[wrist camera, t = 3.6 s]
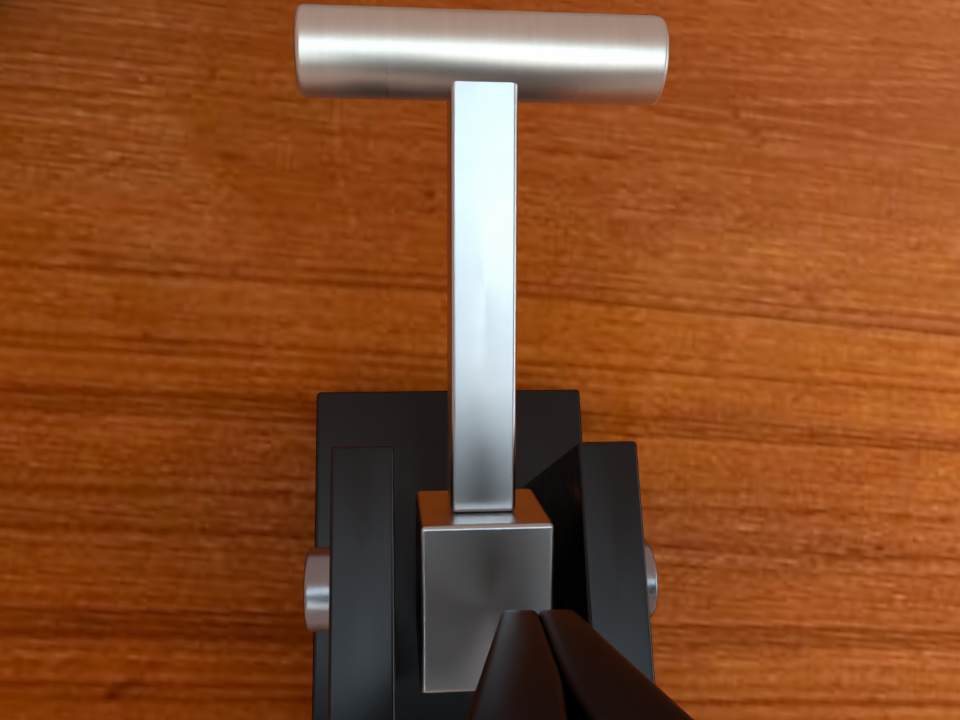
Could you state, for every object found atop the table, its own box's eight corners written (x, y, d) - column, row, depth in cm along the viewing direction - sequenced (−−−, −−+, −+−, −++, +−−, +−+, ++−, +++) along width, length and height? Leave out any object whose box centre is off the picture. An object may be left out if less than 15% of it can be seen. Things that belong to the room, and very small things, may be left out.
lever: (304, 27, 15) (288, -20, 13) (639, 37, 16) (682, -6, 13) (315, 638, 16) (301, 701, 14) (627, 627, 17) (666, 684, 14)
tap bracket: (320, 400, 24) (271, 279, 14) (570, 398, 25) (681, 280, 15) (315, 799, 21) (250, 967, 12) (594, 783, 22) (742, 930, 13)
